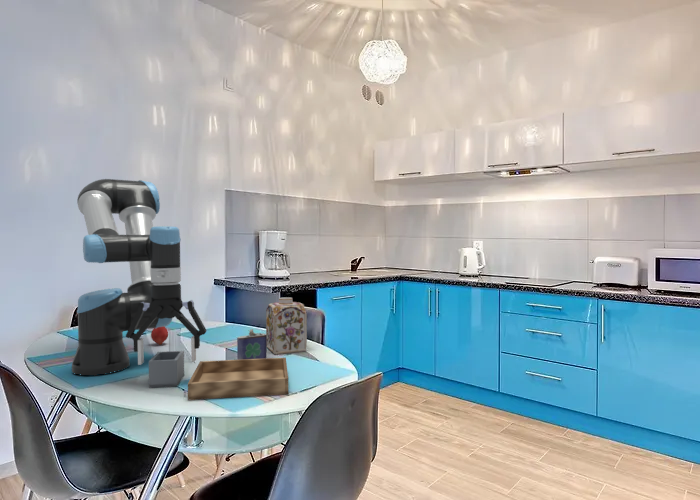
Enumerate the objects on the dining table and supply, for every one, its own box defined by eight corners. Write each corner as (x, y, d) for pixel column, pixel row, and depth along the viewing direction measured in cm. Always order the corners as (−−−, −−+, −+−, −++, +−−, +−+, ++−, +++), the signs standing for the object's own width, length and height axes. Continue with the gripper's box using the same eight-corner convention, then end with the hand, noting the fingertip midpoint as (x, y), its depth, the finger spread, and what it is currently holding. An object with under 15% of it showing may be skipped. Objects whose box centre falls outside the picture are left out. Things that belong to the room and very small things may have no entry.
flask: (238, 367, 139) (238, 332, 139) (235, 365, 142) (235, 330, 142) (267, 363, 144) (267, 329, 144) (264, 361, 147) (264, 327, 146)
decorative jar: (273, 355, 154) (273, 301, 153) (265, 347, 165) (265, 296, 164) (308, 351, 159) (307, 298, 158) (297, 344, 169) (297, 294, 169)
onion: (147, 345, 167) (147, 323, 167) (159, 342, 173) (159, 320, 172) (160, 347, 165) (159, 324, 165) (171, 343, 170) (171, 321, 170)
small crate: (149, 388, 121) (148, 361, 121) (158, 376, 131) (157, 351, 131) (177, 386, 122) (176, 360, 122) (184, 375, 132) (183, 350, 132)
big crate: (187, 400, 112) (187, 383, 112) (200, 375, 132) (200, 361, 132) (288, 394, 116) (288, 378, 116) (285, 371, 136) (285, 357, 136)
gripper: (111, 286, 120) (113, 368, 120) (212, 283, 124) (213, 362, 124) (121, 283, 127) (122, 361, 128) (215, 281, 131) (216, 356, 132)
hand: (167, 362), depth 126 cm, fingers open, 13 cm apart
